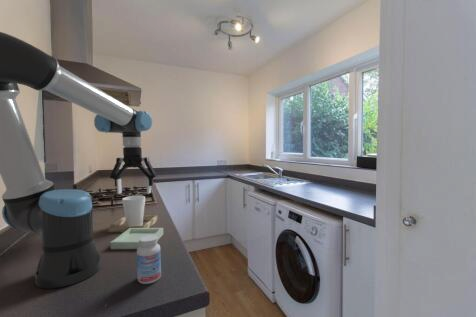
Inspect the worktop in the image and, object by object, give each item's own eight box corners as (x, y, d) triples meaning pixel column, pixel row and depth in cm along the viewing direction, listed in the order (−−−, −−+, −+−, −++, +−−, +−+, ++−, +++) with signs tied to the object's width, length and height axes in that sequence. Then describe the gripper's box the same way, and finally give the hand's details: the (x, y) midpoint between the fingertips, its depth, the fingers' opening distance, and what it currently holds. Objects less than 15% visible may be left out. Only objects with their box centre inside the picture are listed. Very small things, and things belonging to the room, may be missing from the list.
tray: (150, 248, 80) (149, 241, 80) (110, 249, 80) (110, 242, 80) (163, 233, 94) (163, 227, 94) (129, 234, 94) (129, 228, 94)
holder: (144, 231, 96) (144, 226, 96) (108, 232, 96) (108, 226, 96) (158, 220, 112) (157, 215, 112) (126, 220, 112) (126, 215, 112)
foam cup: (119, 227, 102) (117, 198, 101) (136, 221, 110) (135, 194, 110) (133, 230, 98) (131, 201, 97) (150, 224, 106) (149, 196, 105)
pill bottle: (141, 288, 58) (139, 244, 57) (134, 277, 62) (133, 237, 62) (164, 279, 61) (163, 238, 61) (157, 269, 66) (155, 232, 66)
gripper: (162, 146, 106) (164, 191, 107) (109, 147, 106) (111, 191, 107) (156, 146, 98) (158, 194, 100) (99, 147, 99) (102, 195, 100)
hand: (134, 193), depth 103 cm, fingers open, 13 cm apart
